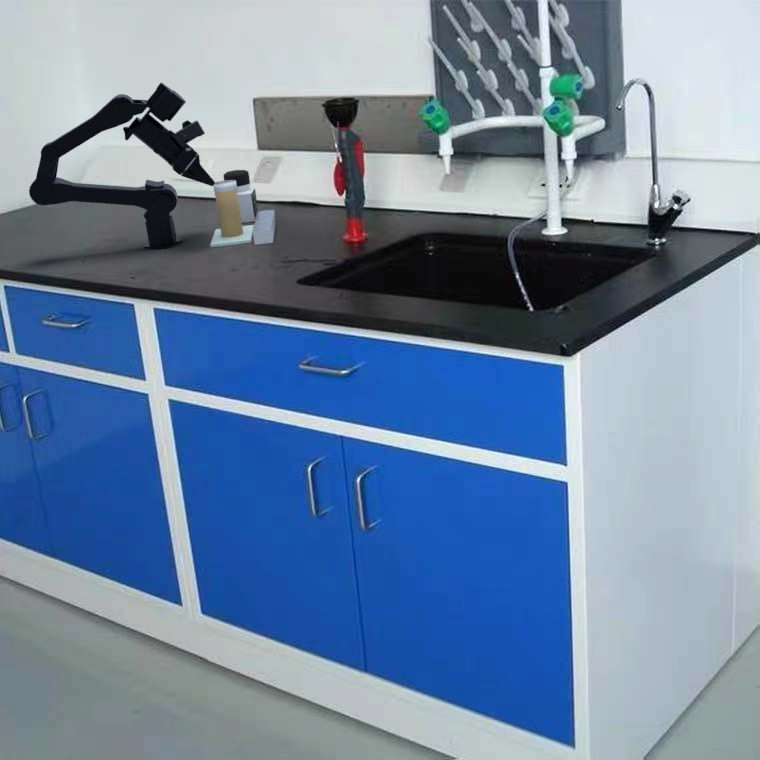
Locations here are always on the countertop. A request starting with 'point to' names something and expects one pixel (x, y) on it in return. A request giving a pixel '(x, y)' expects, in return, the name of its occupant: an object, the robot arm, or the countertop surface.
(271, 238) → the grey rectangular bar
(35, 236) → the countertop surface
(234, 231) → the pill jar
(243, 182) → the medicine bottle
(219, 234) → the pad
